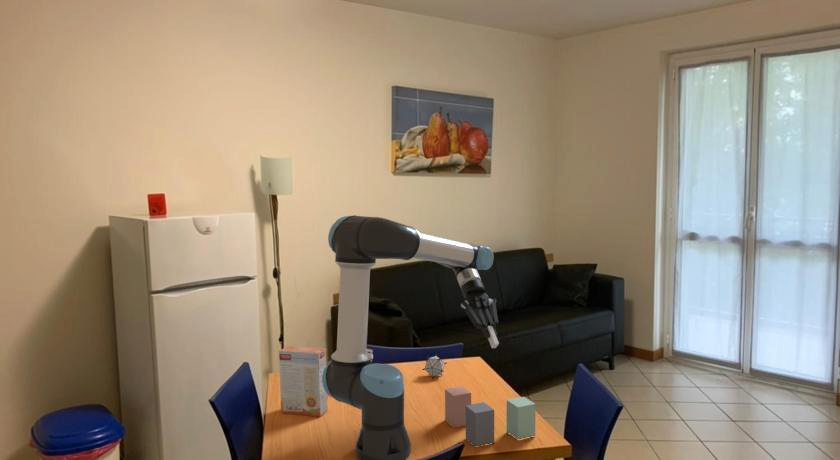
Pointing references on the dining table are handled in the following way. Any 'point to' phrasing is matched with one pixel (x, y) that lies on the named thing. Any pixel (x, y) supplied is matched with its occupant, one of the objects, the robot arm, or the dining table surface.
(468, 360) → the dining table surface
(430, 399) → the dining table surface
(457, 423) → the pink block
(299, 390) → the cracker box
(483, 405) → the slate blue block
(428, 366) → the game die
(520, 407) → the sage block
